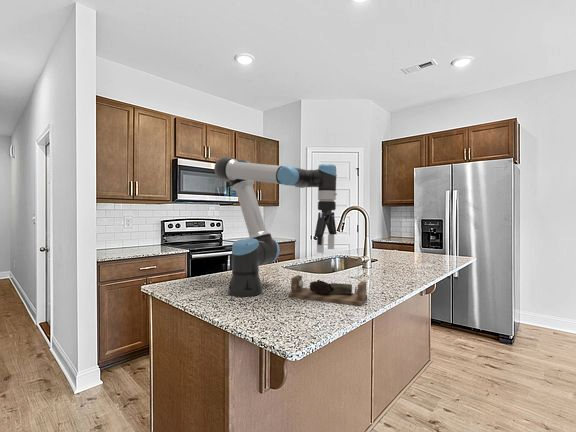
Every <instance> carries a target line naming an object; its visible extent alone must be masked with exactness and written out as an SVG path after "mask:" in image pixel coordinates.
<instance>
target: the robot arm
mask: <svg viewBox="0 0 576 432" xmlns="http://www.w3.org/2000/svg"><path fill="white" fill-rule="evenodd" d="M214 174H215V176H216V177H217V178H218V179H219V180H221V181H222V182H228V183H230V184H229V185H230V186H231V189H232V190H233V191H235V192H236V196H237V198H238V202H239V205H240V210H241V213H242V216H243V219H244V223H245V225H246V229H247V232H248V236H249V237H248V238H242V239H237V240H235V241H234V242H233V243H232V247H231V248H232V250H231V266H232V267H231V270H232V271H231V272H232V273H231V274H232V275H231V279H230V282H229V285H228V290H227V294H228V295H230V296H234V297H255V296H257V295H260V294H262V293H263V285H262V282H261V278H260V275H259V266H264V265H269V264H272V263H273V262H274V263H275V261H276V260H277V259H278V258H279V256H280V251H281V250H280V244H279V243H278V242H277V241H276V240H275V239H274V238H272V234H271V232H269V231H267V229H266V225H265V223H264V219H263V216H262V212H261V209H260V206H259V202H258V199H257V196H256V193H255V190H254V185H255V182H260V183H261V182H262V183H268V184H277V185H284V186H293V187H295V188H300V189H301V188H302V189H304V188H317V200H318V202H317V210H318V211H320V212H318V214H317V222H316V226H315V231H314V237H316V253H317V254H324V252H325V248H324V247H325V246H324V245H325V237H324V234H325V231H326V228H327V232H328V234H327V235H328V236H327V250H334V249H335V235H337V226H336V220H335V212H333V211H336V207H337V206H336V205H337V204H336V203H337V202H336V200H337V196H338V193H337V176H338V175H337V166H336V165H335V164H332V163H322V164H321V163H320V164H319V165H318V169H304V168H300V167H295V166H291V165H275V164H263V163H253V162H250V161H247V160H245V159H239V158H234V157H233V158H232V157H228V156H226V157H225V156H224V157H220V158H219V159H218V160H217V161H216V162H215V163H214Z"/></svg>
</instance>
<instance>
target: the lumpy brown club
mask: <svg viewBox="0 0 576 432" xmlns="http://www.w3.org/2000/svg"><path fill="white" fill-rule="evenodd" d="M309 288H310V291H312V292H316V293H319V294H320V295H327V294H329V293H331V292H332V293H341V294H352V293H353V284H352V283H337V282H331V283H328V282H326V281H325V280H324V281H323V280H320V279H317V281H311V282H310V283H309Z"/></svg>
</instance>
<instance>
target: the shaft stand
mask: <svg viewBox="0 0 576 432" xmlns="http://www.w3.org/2000/svg"><path fill="white" fill-rule="evenodd" d="M290 279H291V280H290V282H291V284H290V285H291V287H290V290H291V292H289V293H288V298H291V299H292V298H294V299H301V300H306V301H307V300H309V301H316V302H322V303H323V302H324V303H331V304H333V303H334V304H340V305H347V306H348V305H349V306H355V307H362V306H363V305H364V303H365V302H366V301H367V300H368V294H367V281H360V282H359V283H358V284H357V286H355V287H354V293H353V292H352V294H341V293H332V292H331V293H329V294H327V295H320V294H319V293H316V292H312V291H310V287H309V288H307V287H304V281H303V276H302V275H301V274H300V275H299V274H298V275H295V276H294V277H291V278H290Z"/></svg>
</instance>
